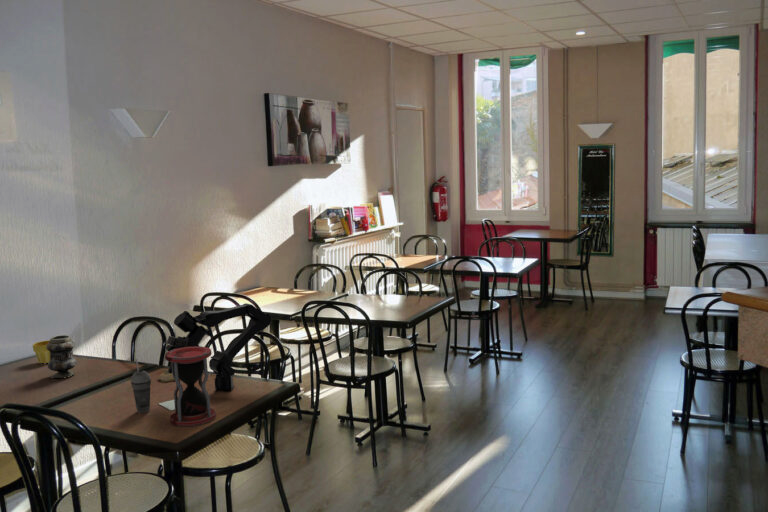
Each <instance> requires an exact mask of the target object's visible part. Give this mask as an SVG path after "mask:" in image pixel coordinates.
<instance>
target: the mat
mask: <svg viewBox="0 0 768 512" xmlns="http://www.w3.org/2000/svg"><path fill="white" fill-rule="evenodd" d="M158 405H159V406H161V407H163V408H165V409H167V410H169V411H175V403H174V399H171V400H166V401H163V402H159V403H158Z"/></svg>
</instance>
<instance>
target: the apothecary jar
mask: <svg viewBox="0 0 768 512" xmlns="http://www.w3.org/2000/svg"><path fill="white" fill-rule="evenodd" d="M71 337H72V336H70V335H68V334H64V335H63V334H59V335H55V336H50V337H49V340H50V342H49V343H48V344H47V346H46V348H47V350H48V351H50V361H49V362H48V364H46V365H47V368H48V369H49V370H50V371H53V372H56V373H54V374H53V375H52V376H51V377H53V378H64V377H68V376H72V375H74V374H75V375H76V372H75V371H71V369H73V368H75V367H76V366H77V362H78V361H77V360H76V358H74V348H75V346H76V342H75V341H74V340H72V338H71ZM75 375H74V376H75ZM72 377H73V376H72ZM53 378H52V379H53ZM64 379H65V378H64Z"/></svg>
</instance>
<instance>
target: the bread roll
mask: <svg viewBox="0 0 768 512" xmlns="http://www.w3.org/2000/svg"><path fill="white" fill-rule="evenodd" d="M158 380H159V381H160V380H161V381H160V382H175V379H174V378H173V375H172V373H169V372H168V370H164V372H162V373H160V374H159V376H158ZM179 381H181V380H180V379H179Z"/></svg>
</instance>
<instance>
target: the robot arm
mask: <svg viewBox="0 0 768 512" xmlns="http://www.w3.org/2000/svg"><path fill="white" fill-rule="evenodd" d="M245 315H246V316H247V317H248V318H249V321H248V324H247V326H246V327H245V329H243V330H242V331H241V332H240V333H239V335H238V336H236V338H235V339H234V340H233V341H232V342H231V343H230V344H229V345H228V346H227V347H226V348H225V350H223V351H220V350H216V351H215V353H214V354H213V355H212V356H210V360H209V361H208V364H209V365H208V367H209V369H210V370H211V371H212V372H213V374H215V378H214V389H215V392H231V391H232V390H233V389H234V388H235V384H234V378H233V376H235V372H236V369H234V368H233V367H232V365H233V362H234V359H235V357H236V356H237V355H238V354H239V353H240V352H241V351H242V350H243V348H245V346H246V345H248V343H250V341H251V340H252V339H253V338H254V337H255V335H257V334H258V333H259V332H261V331H264V330H265V329H266V328H268V327H269V326H270V325H271V323H272V316H271V314H269V313H267V312H264V311H262V310H261V309H259V308H257V307H256V306H254V304H252V303H248V302H246V303H243V304H240V305H236V306H233V307H228V308H224V309H220V310H207V311H206V310H205V311H204V310H203V311H201V312H200V313H199V314H198V315H195V316H193V315H192V314H191V313H190V312H189V311H187V310H184V311H183V312H182V313H181V312H180V314H178V315H177V316H176V317H175V318H174V320H173V325H175V326H176V327H177V328H179V329H180V330H181V331H182V332H184V333H187V335H186V336H181V335H180V336H177V337H174V336H170V335H168V338H167V341H166V344H167V345H166V347H165V350H166V351H167V352H169V351H171V350H174V349H178V348H184V347H195V346H198V347H200V345H199V344H200V343H201V342H202V341H203V339H204V338H205V336H208V337H212V333H211V329H209V328H214V327H216V326H218V325H220V324H221V323H222V322H224V321H226V320H231V319H234V318H238V317H241V316H245ZM205 327H207V328H205ZM167 371H168V372H169V373H172V365H171V363H170V364H169V367H168V369H167Z"/></svg>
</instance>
